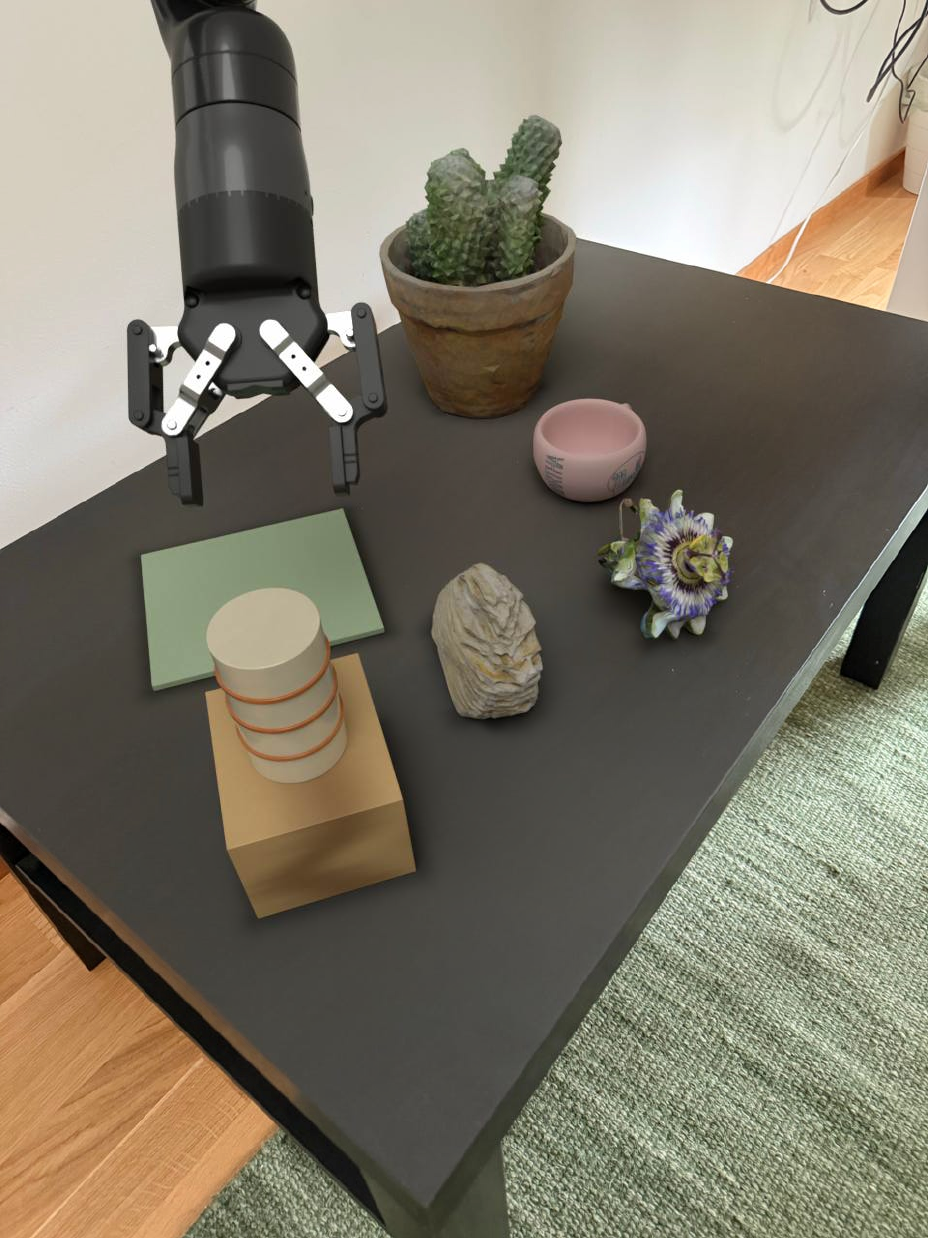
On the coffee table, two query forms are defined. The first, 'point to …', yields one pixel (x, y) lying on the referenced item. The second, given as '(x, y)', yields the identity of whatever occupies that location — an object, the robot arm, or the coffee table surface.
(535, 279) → the potted plant
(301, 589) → the mat
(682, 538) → the passion flower
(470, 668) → the fossil tooth
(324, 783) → the stand
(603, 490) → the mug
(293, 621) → the banded jar
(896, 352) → the coffee table surface
